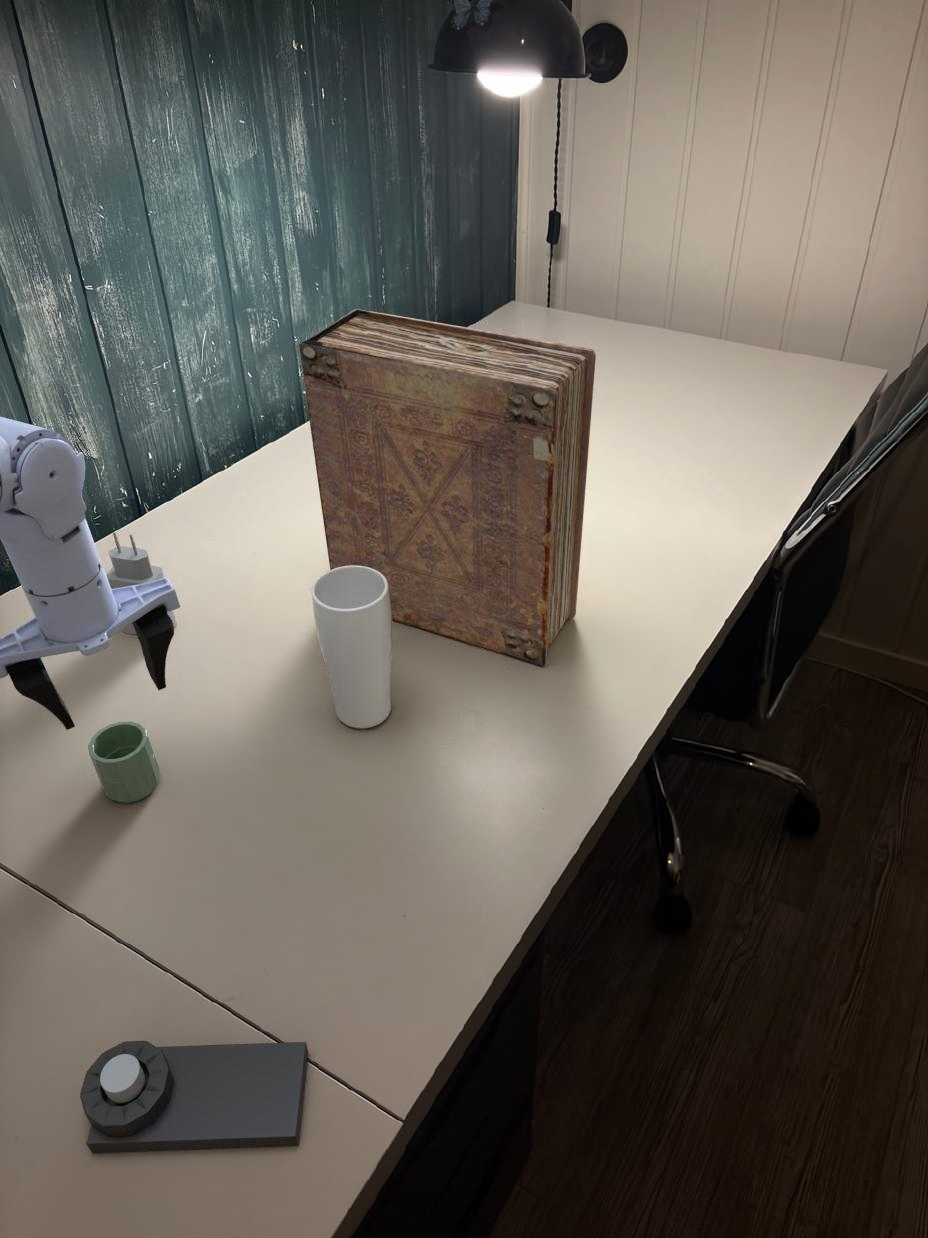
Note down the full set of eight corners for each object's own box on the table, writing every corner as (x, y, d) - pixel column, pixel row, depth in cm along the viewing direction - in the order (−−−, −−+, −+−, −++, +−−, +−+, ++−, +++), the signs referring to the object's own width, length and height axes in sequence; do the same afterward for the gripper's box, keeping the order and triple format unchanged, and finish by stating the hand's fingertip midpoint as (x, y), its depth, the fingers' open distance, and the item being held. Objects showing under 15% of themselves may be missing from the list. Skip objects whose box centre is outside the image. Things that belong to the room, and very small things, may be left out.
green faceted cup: (108, 812, 79) (91, 769, 76) (102, 774, 82) (85, 731, 79) (165, 795, 80) (150, 751, 77) (156, 758, 84) (142, 715, 80)
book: (577, 617, 99) (599, 349, 80) (544, 669, 93) (559, 391, 74) (376, 559, 108) (352, 306, 89) (333, 602, 102) (298, 340, 83)
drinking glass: (404, 689, 91) (394, 565, 81) (393, 739, 85) (382, 613, 76) (336, 685, 91) (319, 562, 82) (322, 735, 86) (301, 609, 76)
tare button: (101, 1104, 57) (95, 1093, 56) (112, 1066, 59) (105, 1054, 58) (140, 1103, 57) (134, 1092, 56) (149, 1064, 59) (143, 1053, 58)
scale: (81, 1154, 58) (68, 1133, 56) (107, 1058, 62) (96, 1036, 60) (298, 1146, 58) (292, 1125, 56) (308, 1051, 62) (303, 1029, 61)
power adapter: (134, 614, 101) (106, 522, 93) (179, 621, 100) (154, 528, 92) (119, 632, 98) (89, 538, 91) (165, 639, 97) (138, 545, 90)
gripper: (-31, 640, 62) (37, 771, 71) (175, 563, 68) (214, 692, 77) (-51, 587, 66) (15, 716, 75) (143, 519, 72) (184, 646, 81)
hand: (114, 701), depth 76 cm, fingers open, 7 cm apart
